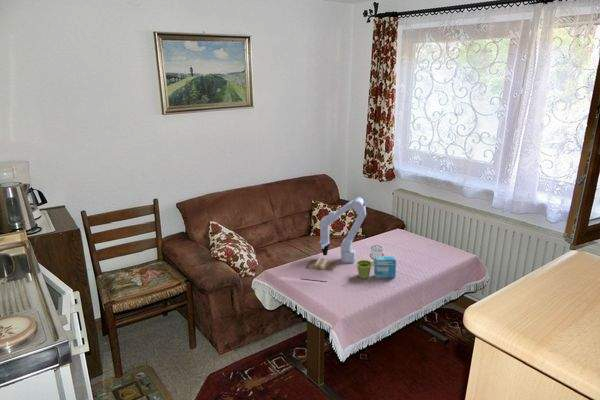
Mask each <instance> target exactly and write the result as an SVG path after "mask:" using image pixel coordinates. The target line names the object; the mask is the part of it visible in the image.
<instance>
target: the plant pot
mask: <svg viewBox="0 0 600 400" xmlns="http://www.w3.org/2000/svg"><path fill="white" fill-rule="evenodd" d="M355 262H356V263H355V264H356V266H357V273H358V277H359V278H361V279H369V278H370V274H371V268H372V265H373V263H372V261H370V260H367V259H361V260H357V261H355Z"/></svg>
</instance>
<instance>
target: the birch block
mask: <svg viewBox="0 0 600 400" xmlns="http://www.w3.org/2000/svg"><path fill="white" fill-rule="evenodd" d="M317 260H318V261H317V262H316V264H315V268H318V269H324V268H325V267H326V265H327V263H328V261H329V260H328V259H327V258H326V259H325V258H318V259H317Z"/></svg>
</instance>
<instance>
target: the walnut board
mask: <svg viewBox="0 0 600 400" xmlns="http://www.w3.org/2000/svg"><path fill="white" fill-rule="evenodd" d="M317 261H318V259H317V260H316V259H309V261H308V263H307V265H305V267H304V269H308V270H317V271H325V272H326V271H327V272H334V270H335V268H336V266H337V264H338V261H329V260H328V263H327V265H326V267H325V268H324V269H318V268H315V264H316V262H317Z"/></svg>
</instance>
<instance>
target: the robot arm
mask: <svg viewBox="0 0 600 400" xmlns="http://www.w3.org/2000/svg"><path fill="white" fill-rule="evenodd" d="M347 211H354V212H355V213H356V215H357V216H356V218H355V219H354V222H353V224H352V226H351V228H350V230H349V231H348V233H347V235H346V236H345V237H344V238H343V239H342V241H341V244H340V261H341V262H342V263H346V264H347V263H350V264H355V262H357V261H356V259H357V255H356V253H357V251H356V250H355V249H353V248H352V245H353V240H354V238H355V237H356V234H357V233H358V231H359V229H360V227H361V226H362V224H363V222H364V221H365V219H366V216H367V209H366V202H365V200H364V198H362V197H361V196H357V197H356V198H354V199H352V200H350V201H349V202H347V203H346V204H345V205H343V206H342V207H341V208H339V209H338V210H332V211H330V212H329V214H327V215H324V216H323V217H322V218H321V219H320V221H319V224H318V225H319V226H320V229H319V230H320V240H318V243H319V244H320V245H319V246H320V250H321V252H322V255H323V256H327V255H328V252H329V248H330V245H331V244H330V243H331V242H330V225H331V224H333V223H334V222H336V221H337V220H339V218H340V216H341V215H342V214H344V213H346V212H347Z"/></svg>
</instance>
